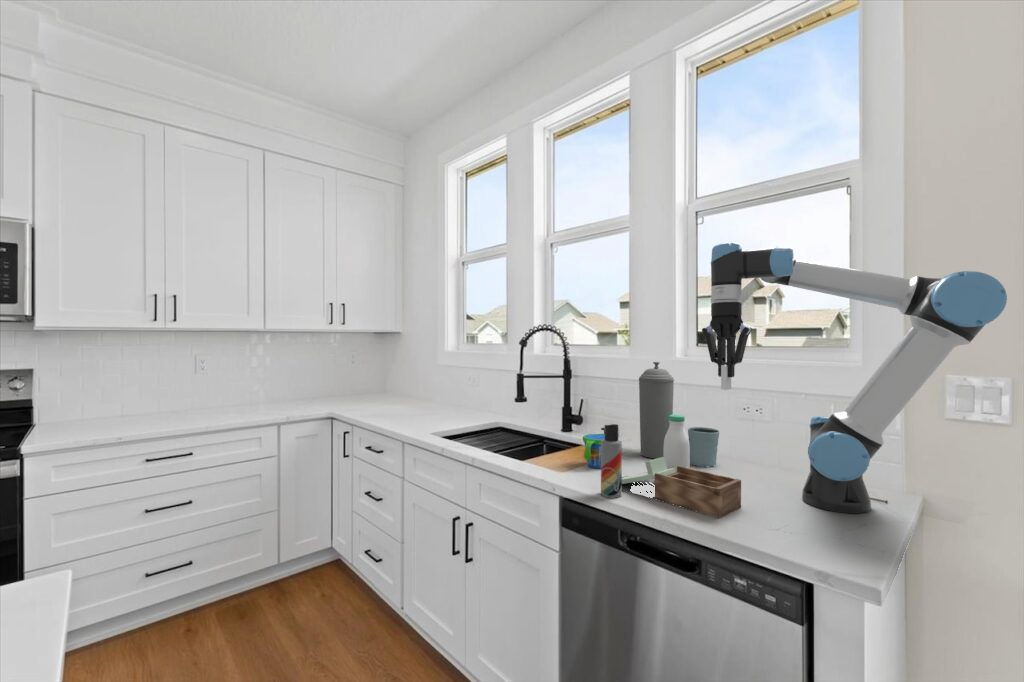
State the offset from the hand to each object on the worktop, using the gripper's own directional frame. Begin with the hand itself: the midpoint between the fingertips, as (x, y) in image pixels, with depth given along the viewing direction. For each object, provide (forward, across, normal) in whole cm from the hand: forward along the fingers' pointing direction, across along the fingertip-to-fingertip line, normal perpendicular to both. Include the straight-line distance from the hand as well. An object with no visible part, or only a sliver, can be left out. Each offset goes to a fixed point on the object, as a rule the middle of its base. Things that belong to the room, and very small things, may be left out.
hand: (726, 389), depth 131 cm
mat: (+30, -23, -8) cm, 39 cm away
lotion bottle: (+30, -23, -20) cm, 43 cm away
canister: (+30, -40, +28) cm, 58 cm away
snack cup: (+30, -45, +1) cm, 54 cm away
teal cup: (+30, -23, +31) cm, 49 cm away
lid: (+27, -20, -8) cm, 35 cm away
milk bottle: (+30, -19, +7) cm, 37 cm away
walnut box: (+30, -4, -8) cm, 32 cm away
